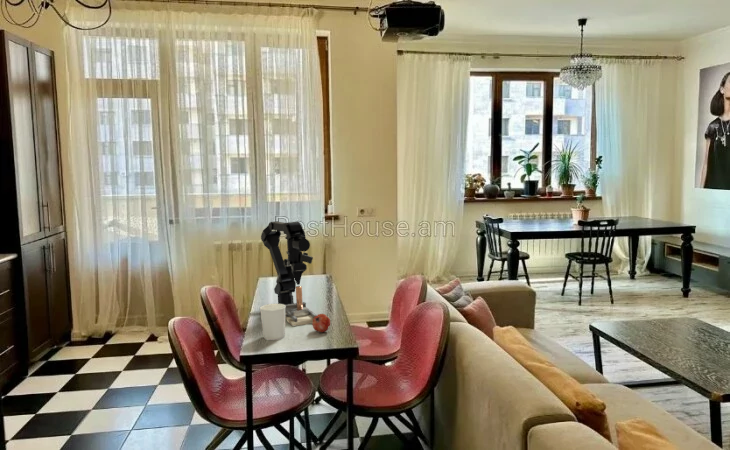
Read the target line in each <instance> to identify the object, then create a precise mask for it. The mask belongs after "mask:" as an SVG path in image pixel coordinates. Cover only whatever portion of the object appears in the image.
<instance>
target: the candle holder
mask: <svg viewBox="0 0 730 450" xmlns="http://www.w3.org/2000/svg"><path fill="white" fill-rule="evenodd" d="M285 308H286V306H285V305H284V304H278V303H268V304H263V305H262V306H260V307H259V311H260V318H261V328H262V335H263V339H264V340H266V341H277V340H282V339H284V338H285V337H286V319H285Z"/></svg>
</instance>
